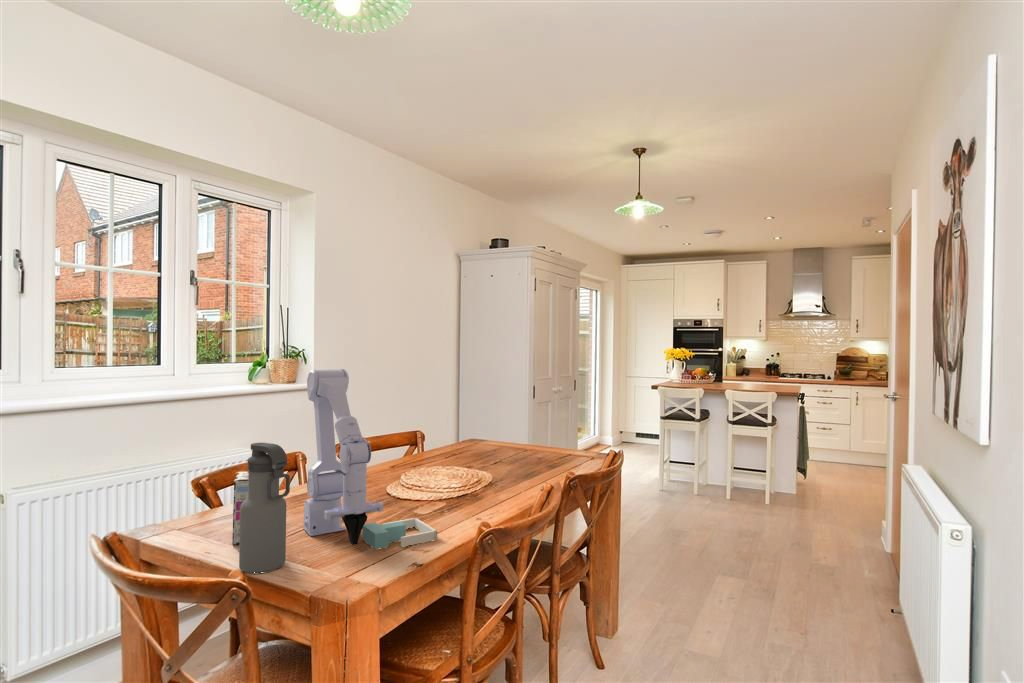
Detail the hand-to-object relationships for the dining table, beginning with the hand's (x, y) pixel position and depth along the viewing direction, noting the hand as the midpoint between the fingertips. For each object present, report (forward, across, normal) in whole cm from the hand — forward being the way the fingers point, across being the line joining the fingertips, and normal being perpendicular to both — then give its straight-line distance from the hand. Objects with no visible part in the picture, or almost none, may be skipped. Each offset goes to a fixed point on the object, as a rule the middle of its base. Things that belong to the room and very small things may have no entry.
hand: (353, 543), depth 143 cm
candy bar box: (+1, -22, +22) cm, 31 cm away
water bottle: (+1, -21, -1) cm, 21 cm away
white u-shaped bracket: (+1, +15, 0) cm, 15 cm away
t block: (+1, +9, 0) cm, 9 cm away
